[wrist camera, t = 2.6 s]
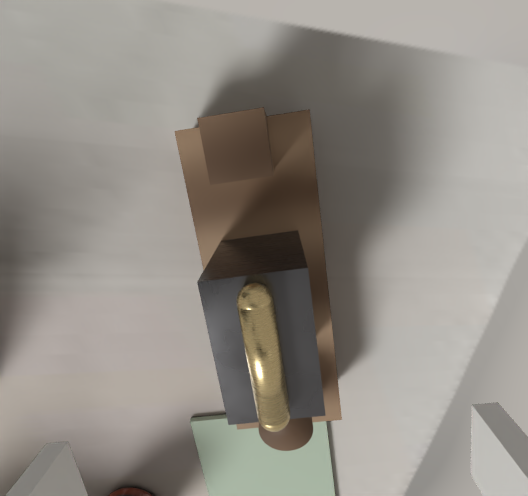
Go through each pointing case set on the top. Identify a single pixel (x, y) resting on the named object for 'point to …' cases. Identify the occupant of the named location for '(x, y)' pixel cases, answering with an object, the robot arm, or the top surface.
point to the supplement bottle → (130, 492)
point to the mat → (260, 461)
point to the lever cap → (263, 330)
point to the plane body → (263, 216)
